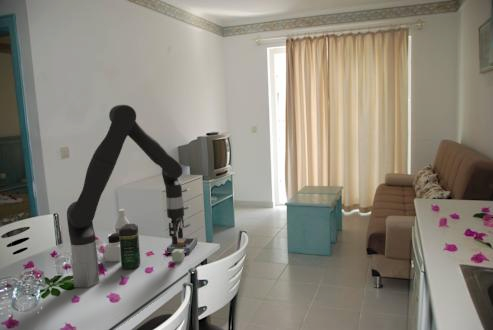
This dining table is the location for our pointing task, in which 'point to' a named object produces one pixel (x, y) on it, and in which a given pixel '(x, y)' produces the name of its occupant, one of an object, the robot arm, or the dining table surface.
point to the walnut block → (181, 243)
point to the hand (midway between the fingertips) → (177, 241)
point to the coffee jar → (129, 246)
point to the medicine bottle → (113, 248)
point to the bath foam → (121, 220)
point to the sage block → (178, 255)
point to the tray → (189, 247)
